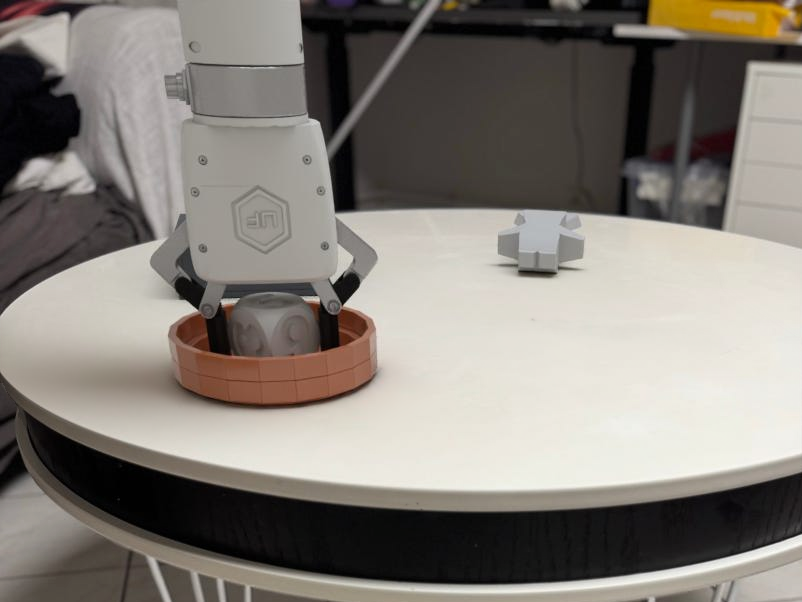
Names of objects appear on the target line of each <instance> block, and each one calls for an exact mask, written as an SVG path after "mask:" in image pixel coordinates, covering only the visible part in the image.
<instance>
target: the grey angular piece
mask: <svg viewBox="0 0 802 602" xmlns="http://www.w3.org/2000/svg"><path fill="white" fill-rule="evenodd" d="M513 224H514V225H516V226H514V227H510V228H506V229H504V230H500V231H498V232H497V255H500V256H503V257H507V258H510V259H513V260H516V261H518V263H517V271H519V272H520V271H521V272H522V271H523V272H537V273H538V272H539V273H555V274H557V273H558V269H559V264H561V263H567V262H572V261H577V260H582V259H583V258H584V253H585V252H584V251H585V242H586V241H585V240H586V238H585V236H584V235H581V234H579V233H577V232H575V231H573V230H577V229H579V228H580V229H581V227H582V222H581V218H580V216H579V214H578V213H574V212H573V213H571V212H570V213H567V211H562V210H541V209H524V210H519V211H518V212H517V214H516V216H515V219H514V221H513Z"/></svg>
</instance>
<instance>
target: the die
mask: <svg viewBox="0 0 802 602" xmlns="http://www.w3.org/2000/svg"><path fill="white" fill-rule="evenodd" d="M306 301H307V300H305V299H304V298H302V296H298V295H295V294H290V293H281V292H266V293H256V294H251V295H247V296H244V297H239V299H238V300H237V301H236V302H235V303H236V304H235V306H234V307H233V309H232V311H231V314H230V316H229V320H228V327H227V331H228V338H229V343H230V346H231V349H232V352H233V354H234V356H243V357H283V356H296V355H303V354H310V353H317V352H318V351H319V347H320V328H319V324H318V321H317V318H316V316H315V314H314V312H313V310H312V309H311V307H310V306H309V304H308V303H307V302H306Z"/></svg>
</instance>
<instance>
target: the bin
mask: <svg viewBox="0 0 802 602" xmlns="http://www.w3.org/2000/svg"><path fill="white" fill-rule="evenodd" d="M185 220H186V213H180V214H179V216H178V219H177V222H176V225H175V228H174V230H173V232H174V231H175V230H176V229H177V228H178V227H179V226H180V225H181V224H182V223H183V222H184V221H185ZM176 261H177V264H178V265H179V266H180V267H181V268H182V270H183V271H184V272H185V273H186V274H188V275H190V276H191V277H192V278H193V279H194V280H196V281H197V282H198V283H199V284H200V285H201V286H203V287H205V285H206V282H207V281H205V280H203V279H201V278H200V277H198V276H197V274H196V272H195V270H194V267H193V263H192V258H191V252H190V246H189V247H188V248H187V249H186V250H185V251H184V252H183V253H182V254H181V255H180V256H179V257H178V258H177V260H176ZM266 292H281V293H290V294H295V295H298V296H300V297H302V296H318V295H317V293H316V292H315V290H314V288H313V286H312V285H311V283H310V282H304V283H273V284H227V285H226V288H225V291H224V293H223V296H222V299H228V298H229V299H231V298H233V299H234V298H242V297H244V296H247V295H251V294H256V293H266ZM178 298H179V300H185V299H184V298H183V297H181V296H180V295H179V294H178Z"/></svg>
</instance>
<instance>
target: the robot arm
mask: <svg viewBox="0 0 802 602" xmlns="http://www.w3.org/2000/svg"><path fill="white" fill-rule="evenodd" d="M176 6H177V13H178V20H179V26H180V28H179V29H180V34H181V41H182V48H183V49H182V50H183V57H184V62H186V63H185V64H184V68H182V69H181V72H175V74H164V75H163V77H164V87H165V94H166V98H167V99H168V100H169V99H170V100H179V102H185V105H186V106H190V111H191V113H192V117H189V118H186V119H184V120H182V121H181V131H180V163H181V177H182V178H181V179H182V181H181V182H182V192H183V201H184V210H185V212H184V214H186V220H185V221H184V222H183V223H182V224H181V225H180V226H179V227H178V228H177V229H176V230H175V229H174V230H175V231H174V230H173V232H172V233H171V234H170V235H169V236H168V238H166V239H165V241H163V243H161V245H160V246H159V247H157V249H156V250H155V251H154V252H153V253H152V254H151V257H150V259H149V265H150V267H151V268H152V269H153V270H154V272H156V273H157V275H159V276H160V277H161V278H162V279H164V281H165V282H166V283H167V284H168V285H170V286H171V287H172V288H173V289H174V291H175V292H176V293H177V294H178V296H179V295H180V296H181V297H183V298H184V299H183V300H185V301H186V302H187V303H189V304H190V305H191V306H192V307H193V308H194V309H196V311H199V312H200V314H201V315H202V316H203V317H204V318H205V321H206V328H207V334H208V341H209V348H210V352H212V353H217V354H222V355H228V356H232V353H231V346H230V343H229V338H228V331H227V327H228V323H227V316H226V310H223V307H222V305H223V304H222V301H221V300H222V299H223V298H222V296H223V293H224V291H225V288H226V285H227V284H273V283H304V282H310V283H311V285H312V286H313V288H314V290H315V292H316V293H317V295H316V296H317V297H318V298H319V302H320V307H317V311H318V323H319V328H320V349H321V352H323V351H326V350H330V349H334V348H337V347H340V341H339V325H338V313H339V312H340V311H341V308H342V306H345V304H346V303H347V302H348V301H349V300H350V299H351V298H352V296H353V295H354V294H355V293H356V292H357V291H358V289H359V288H360V286H361V284H362V282H364V281H365V279H366V278H367V277H368V275H370V274H369V273H371V271H372V270H373V269H374V267H375V266H376V265H377V263H378V262H379V256H378V253H377V252H376V250H375V249H374V248H373V247H372V246H371V245H369V244H368V243H367V242H366V241H365V240H364V239H362V237H360V236H359V235H358V234H356V232H354V231H353V230H352V229H351V228H350V227H348V226H347V225H346V224H345V223H344V222H342V221H341V219H339V218H338V217H337V216H336V211H335V203H334V201H335V200H334V194H333V184H332V176H331V169H330V164H329V158H328V152H327V148H326V142H325V137H324V133H323V130H322V126H321V122H320V121H318V120H317V119H314V118H309V107H308V94H307V81H306V80H307V79H306V69H305V67H306V66H305V64H304V63H305V56H304V55H305V54H304V42H303V28H302V27H303V26H302V17H301V16H302V15H301V3H300V0H176ZM338 245H339V246H340V247H341V248H343V249H344V250H345V251H346V252H347V253H349V254H350V255H351V256H352V257H353V258H352V261H351V263H350V264H349V266H348V267H347V269H346V270H344V271H343V273H341V275H340V276H339V277H338V278H337V279H336V281H335V282H333V281H332V279H331V277H333V276H334V275H335V274H336V273H337V270H338V266H339V246H338ZM189 246H190V252H191V258H192V263H193V267H194V270H195V272H196V274H197V276H198V277H200V278H201V279H203V280H205V281H207V282H206V285H205V287H203V286H201V285H200V284H199V283H198V282H197V281H196V280H194V279H193V278H192V277H191V276H190V275H188V274H186V273H185V272H184V271H183V270H182V268H181V267H180V266H179V265H178V264H177V261H176V260H177V258H178V257H179V256H180V255H181V254H182V253H183V252H184V251H185V250H186V249H187V248H188V247H189Z"/></svg>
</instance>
